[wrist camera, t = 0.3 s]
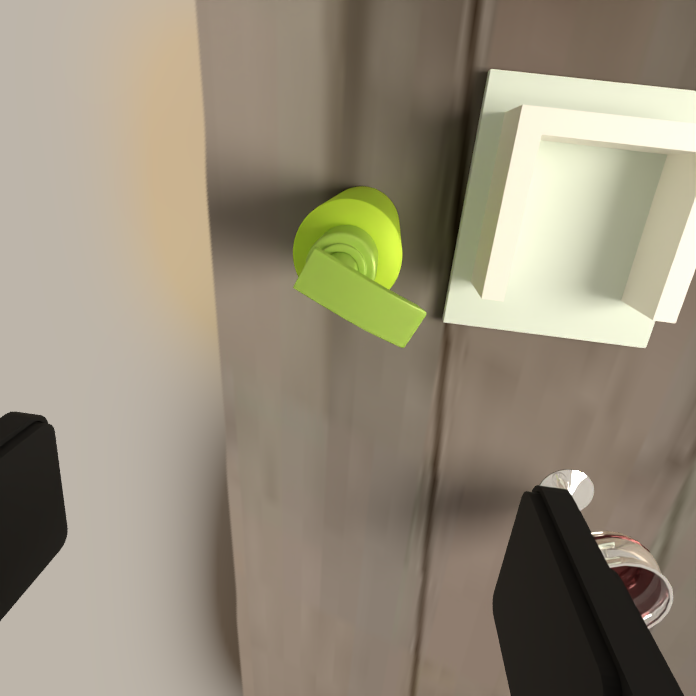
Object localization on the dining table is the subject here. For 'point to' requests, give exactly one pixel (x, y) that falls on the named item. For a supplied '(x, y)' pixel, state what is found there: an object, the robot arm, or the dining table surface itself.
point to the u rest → (577, 209)
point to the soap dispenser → (356, 263)
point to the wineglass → (622, 554)
